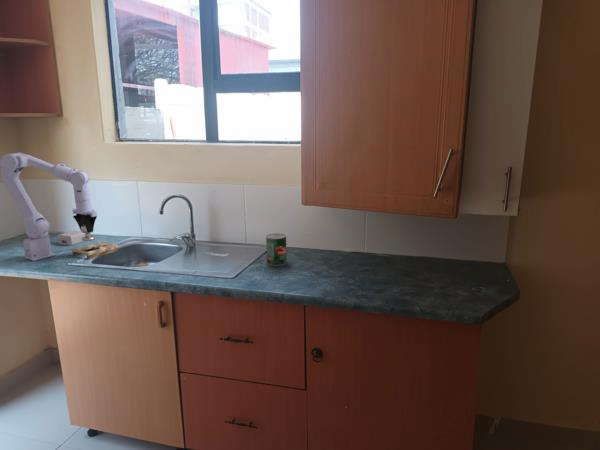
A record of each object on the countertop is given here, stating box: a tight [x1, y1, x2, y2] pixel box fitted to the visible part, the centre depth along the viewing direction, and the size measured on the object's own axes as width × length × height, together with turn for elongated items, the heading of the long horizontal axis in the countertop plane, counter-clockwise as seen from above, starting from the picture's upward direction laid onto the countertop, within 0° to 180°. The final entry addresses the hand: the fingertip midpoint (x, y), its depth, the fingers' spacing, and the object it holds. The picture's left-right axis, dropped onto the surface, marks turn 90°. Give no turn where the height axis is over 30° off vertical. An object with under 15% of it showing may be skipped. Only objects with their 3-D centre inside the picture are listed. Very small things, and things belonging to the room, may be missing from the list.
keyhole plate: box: [71, 241, 120, 260], centre depth 192 cm, size 14×12×2 cm
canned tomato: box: [265, 232, 288, 267], centre depth 173 cm, size 8×8×11 cm
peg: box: [80, 225, 96, 242], centre depth 189 cm, size 5×5×6 cm
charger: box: [56, 230, 93, 247], centre depth 213 cm, size 5×9×15 cm
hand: (87, 231), depth 189 cm, fingers closed on peg, 4 cm apart
